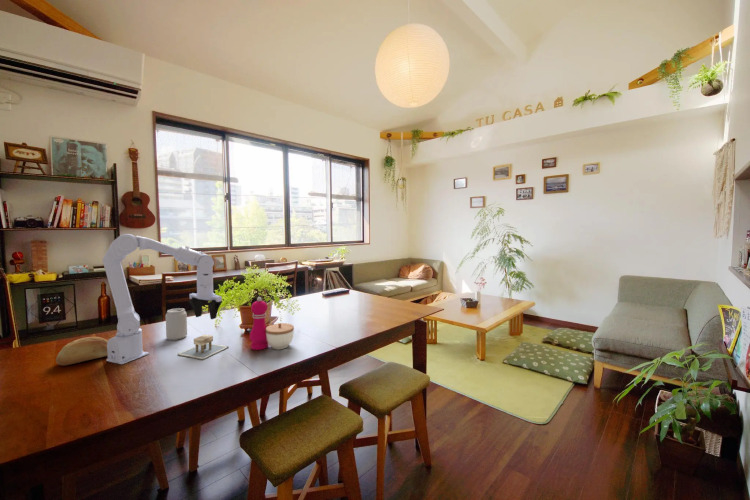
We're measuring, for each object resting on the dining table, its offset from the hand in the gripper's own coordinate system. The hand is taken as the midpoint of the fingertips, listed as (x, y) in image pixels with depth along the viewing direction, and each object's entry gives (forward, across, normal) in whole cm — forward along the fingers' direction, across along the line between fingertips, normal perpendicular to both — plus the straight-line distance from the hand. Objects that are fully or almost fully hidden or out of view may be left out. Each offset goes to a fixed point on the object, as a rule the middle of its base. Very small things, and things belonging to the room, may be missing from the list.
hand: (205, 317), depth 127 cm
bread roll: (+11, +25, +27) cm, 38 cm away
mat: (+10, -6, +7) cm, 14 cm away
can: (+11, +16, 0) cm, 19 cm away
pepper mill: (+11, -23, -4) cm, 25 cm away
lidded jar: (+11, -30, -7) cm, 32 cm away
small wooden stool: (+10, -6, +7) cm, 14 cm away
